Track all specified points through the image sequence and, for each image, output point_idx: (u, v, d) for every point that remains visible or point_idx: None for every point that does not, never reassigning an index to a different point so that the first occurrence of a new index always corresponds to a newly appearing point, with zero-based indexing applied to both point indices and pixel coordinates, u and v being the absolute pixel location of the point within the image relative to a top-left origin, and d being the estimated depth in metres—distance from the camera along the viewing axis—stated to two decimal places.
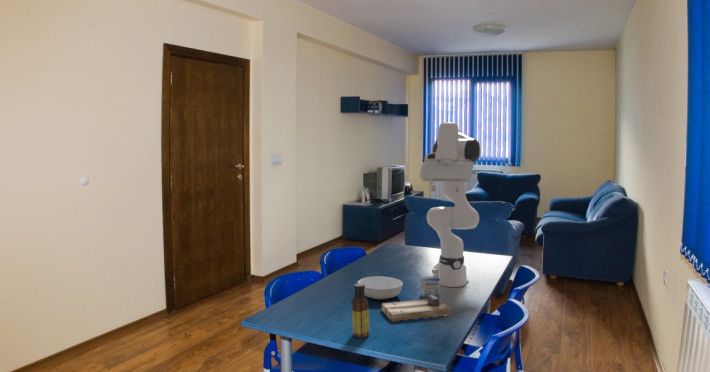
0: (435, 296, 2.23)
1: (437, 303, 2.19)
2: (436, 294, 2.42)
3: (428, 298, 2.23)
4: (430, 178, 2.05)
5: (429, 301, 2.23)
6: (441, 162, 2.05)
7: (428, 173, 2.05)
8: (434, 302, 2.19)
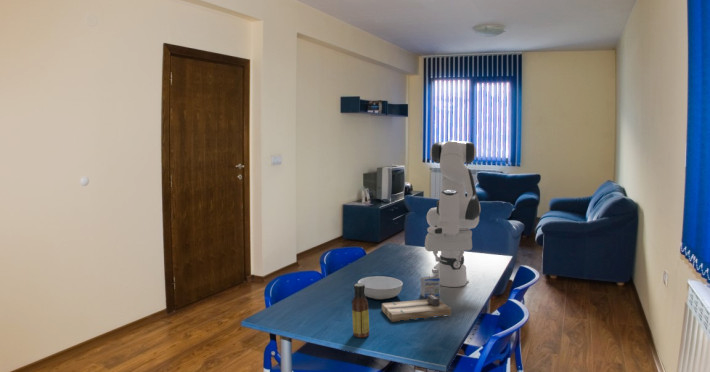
0: (435, 296, 2.23)
1: (437, 303, 2.19)
2: (436, 294, 2.42)
3: (428, 298, 2.23)
4: (436, 251, 2.16)
5: (429, 301, 2.23)
6: (446, 235, 2.16)
7: (434, 246, 2.16)
8: (434, 302, 2.19)
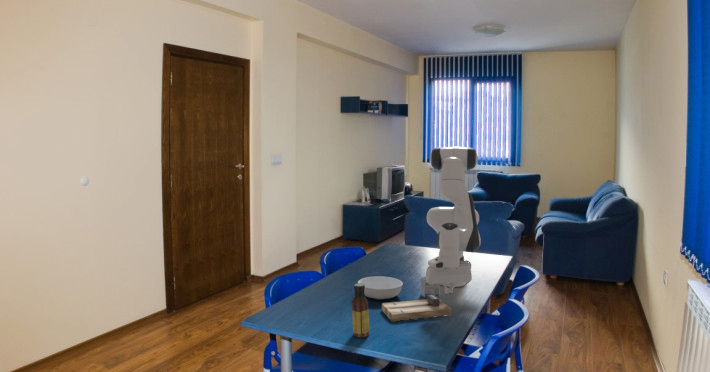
0: (435, 296, 2.23)
1: (437, 303, 2.19)
2: (436, 294, 2.42)
3: (428, 298, 2.23)
4: None
5: (429, 301, 2.23)
6: (447, 269, 2.19)
7: (435, 280, 2.19)
8: (434, 302, 2.19)
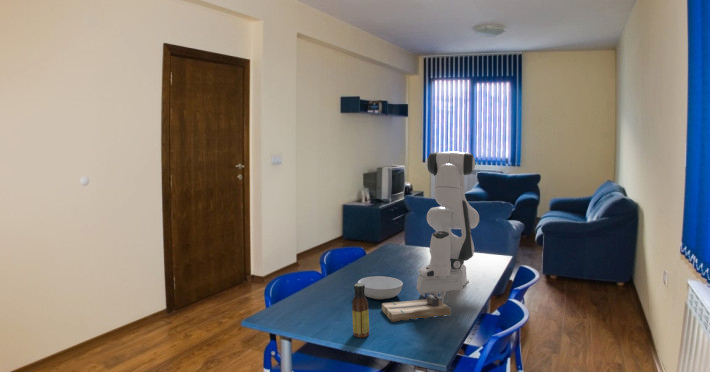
0: (434, 296, 2.22)
1: (436, 303, 2.19)
2: None
3: (427, 298, 2.23)
4: (428, 292, 2.19)
5: (428, 302, 2.23)
6: (438, 277, 2.19)
7: (426, 288, 2.18)
8: (433, 302, 2.19)
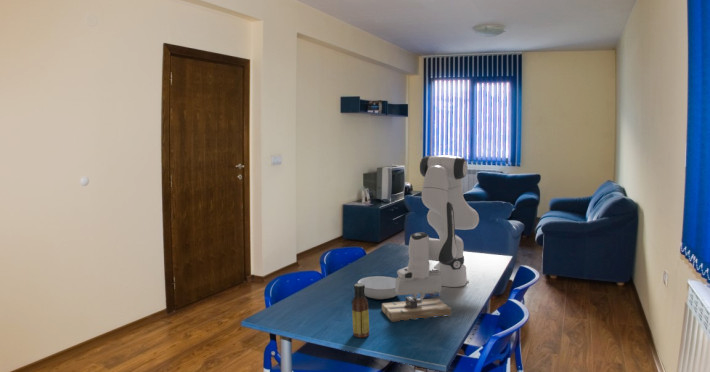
0: (413, 298, 2.20)
1: (415, 305, 2.17)
2: (436, 294, 2.42)
3: (406, 300, 2.21)
4: (406, 294, 2.17)
5: (407, 304, 2.20)
6: (416, 279, 2.16)
7: (405, 290, 2.16)
8: (412, 304, 2.16)
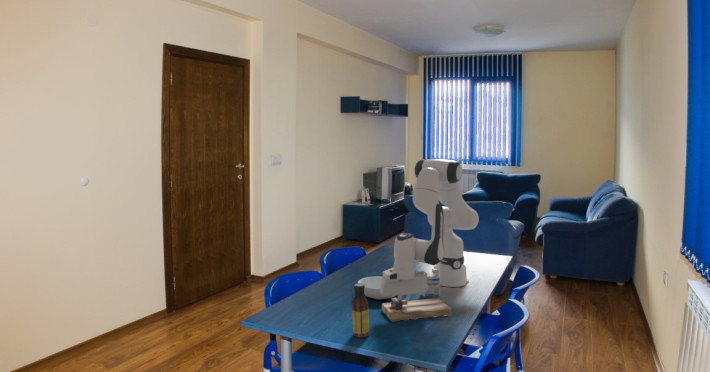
0: (398, 299, 2.18)
1: (400, 307, 2.15)
2: (436, 294, 2.42)
3: (391, 301, 2.19)
4: None
5: (392, 305, 2.19)
6: (401, 280, 2.15)
7: (390, 291, 2.14)
8: (397, 306, 2.15)
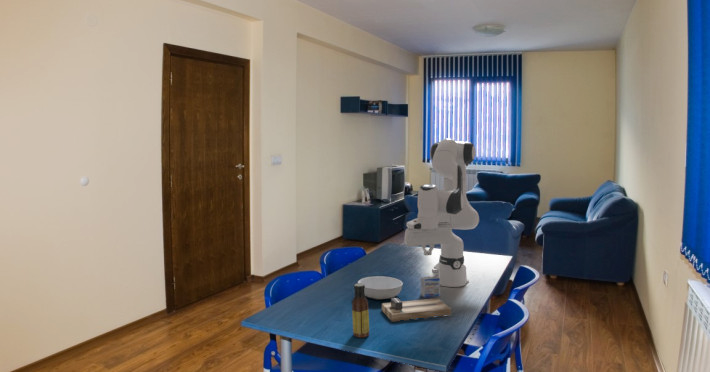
0: (398, 299, 2.18)
1: (400, 307, 2.15)
2: (436, 294, 2.42)
3: (391, 301, 2.19)
4: None
5: (392, 305, 2.19)
6: (425, 230, 2.16)
7: (414, 241, 2.16)
8: (397, 306, 2.15)
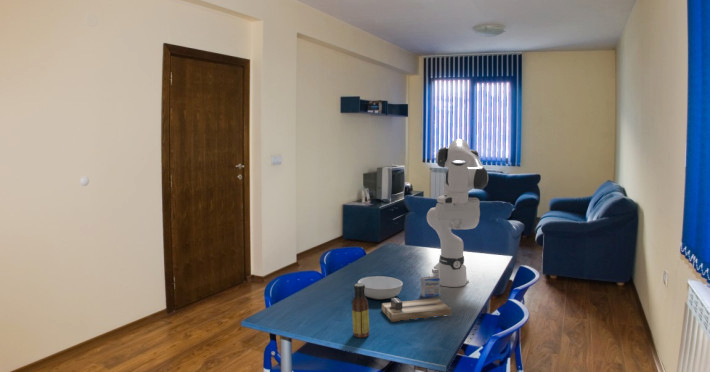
0: (398, 299, 2.18)
1: (400, 307, 2.15)
2: (436, 294, 2.42)
3: (391, 301, 2.19)
4: (446, 220, 2.24)
5: (392, 305, 2.19)
6: (456, 205, 2.23)
7: (445, 215, 2.23)
8: (397, 306, 2.15)
